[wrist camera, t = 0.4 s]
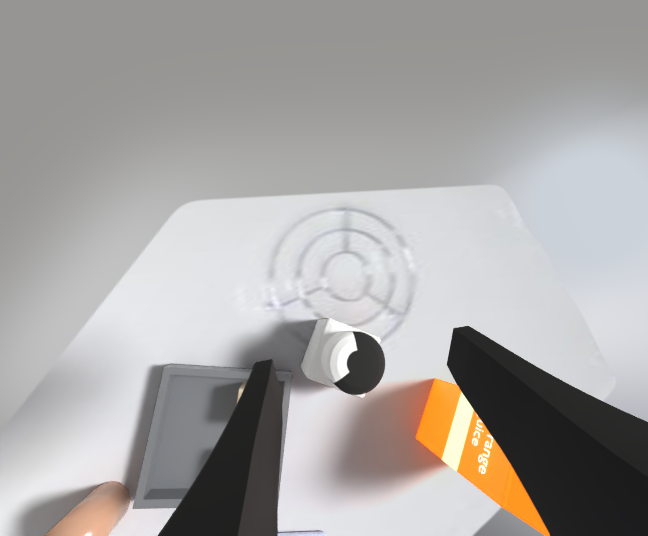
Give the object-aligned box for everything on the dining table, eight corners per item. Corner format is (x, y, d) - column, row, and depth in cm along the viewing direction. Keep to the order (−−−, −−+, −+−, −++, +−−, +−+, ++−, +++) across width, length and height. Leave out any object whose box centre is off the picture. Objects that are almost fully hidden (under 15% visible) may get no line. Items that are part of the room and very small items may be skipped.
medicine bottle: (362, 336, 38) (401, 340, 26) (347, 385, 36) (381, 414, 25) (317, 318, 37) (337, 315, 26) (299, 368, 35) (312, 388, 24)
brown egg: (123, 527, 28) (86, 579, 23) (78, 529, 28) (27, 582, 22) (134, 481, 29) (100, 519, 24) (90, 481, 29) (45, 520, 23)
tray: (277, 492, 32) (277, 506, 29) (144, 493, 29) (132, 508, 27) (290, 371, 35) (292, 374, 33) (172, 363, 33) (164, 366, 30)
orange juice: (414, 438, 36) (573, 565, 17) (434, 377, 39) (592, 427, 20) (461, 461, 37) (666, 609, 18) (478, 399, 39) (674, 470, 20)
